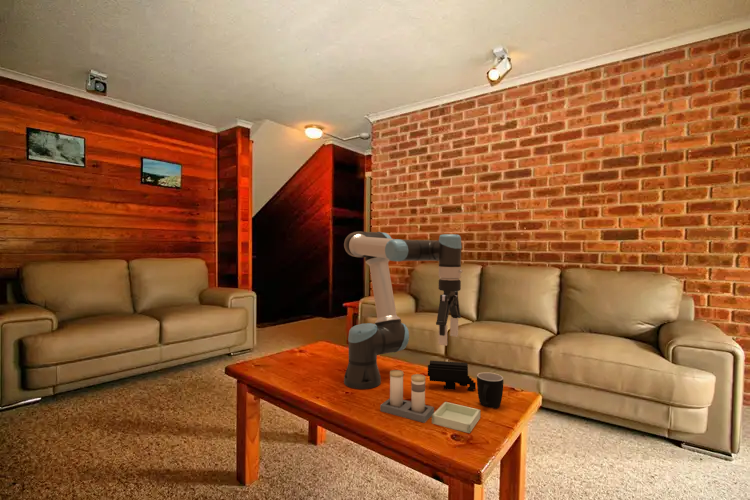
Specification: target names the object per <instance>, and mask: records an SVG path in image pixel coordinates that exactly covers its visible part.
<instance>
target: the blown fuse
mask: <svg viewBox="0 0 750 500" xmlns="http://www.w3.org/2000/svg"><path fill="white" fill-rule="evenodd" d="M410 377H411V378H410V380H411V383H410V384H411V387H410V388H411V393H410V395H411V400H410V401H411V411H413V412H417V413H421V414H423V413H424V412H425V405H426V375H424V374H422V373H421V374H419V373H415V374H412V375H411V376H410Z"/></svg>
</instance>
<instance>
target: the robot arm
mask: <svg viewBox="0 0 750 500" xmlns="http://www.w3.org/2000/svg"><path fill="white" fill-rule="evenodd" d="M343 247H344V250H345V252H346V253H347V255H349V256H351V257H355V258H364V262H365V264H366V265H368V266H369V271H370V280H371V284H372V291H373V298H374V299H373V300H374V303H375V304H374V306H375V312H376V320H375V322H374V323H370V322H369V323H368V322H367V323H359V324H356V325H354V326H351V328H350V329H349V331H348V338H347V341H348V364H347V367H346V370H345V373H344V378H343V383H344V385H345V386H346V387H348V388H351V389H355V390H369V389H374V388H376V387H378V386H380V385H381V383H382V378H381V377H382V376H381V374H380V373H381V372H380V369H379V367H378V355H386V354H391V353H398V352H401V351H403V350H404V349H406V348H407V346H408V343H409V339H410V331H409V328H408V327H407V325H406V323H403V322H402V319H401V317H400V316H398V315H397V309H396V303H395V297H394V292H393V285H392V278H391V273H390V268H389V267H390V266H389V262H390V261H392V262H411V261H412V262H429V261H431V262H438V278H439V280H438V290H439V291H442V292H443V294H440V295H439V306H438V310H437V317H436V321H435V324H436V326H438V345H439V346H448V325H447V323H448V318H449V313H450V315H451V317H450V318H449V320H450V323H449V326H450V327H449V328H450V329H449V336H450V337H456V338H457V337H459V319H461V318H462V316H461V311H460V303H459V291H461V286H462V284H461V282H462V280H460V279H461V277H462V275H461V273H463V270H462V237H461V235H459V234H452V233H451V234H450V233H448V234H447V233H446V234H445V233H444V234H440V235H439V237H438V240H437V239H436V240H435V239H434V240H433V239H432V240H430V239H403V238H402V239H401V238H400V239H399V238H396V239H395V238H392V237H391V235H390V234H388V233H387V232H381V231H377V232H376V231H353V232H351V233H349V234H348V235H347V236H346V237H345V239H344V243H343Z"/></svg>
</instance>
